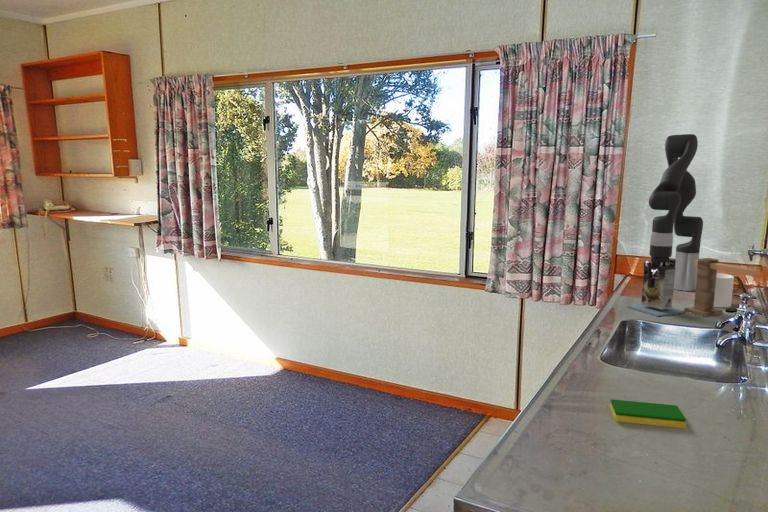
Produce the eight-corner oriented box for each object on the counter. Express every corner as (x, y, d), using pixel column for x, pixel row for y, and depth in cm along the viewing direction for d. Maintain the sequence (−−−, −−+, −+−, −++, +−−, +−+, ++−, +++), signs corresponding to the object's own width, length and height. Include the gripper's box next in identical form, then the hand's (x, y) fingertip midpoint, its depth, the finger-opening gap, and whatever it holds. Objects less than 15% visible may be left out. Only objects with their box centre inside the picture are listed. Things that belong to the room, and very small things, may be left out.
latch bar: (699, 265, 199) (700, 260, 199) (758, 275, 179) (758, 269, 178) (694, 265, 198) (694, 260, 198) (752, 276, 178) (753, 270, 177)
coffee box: (640, 304, 203) (643, 264, 200) (651, 302, 206) (654, 262, 203) (661, 310, 195) (664, 268, 192) (672, 308, 198) (676, 266, 195)
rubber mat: (654, 304, 209) (654, 302, 209) (685, 312, 197) (685, 311, 196) (627, 307, 205) (627, 306, 204) (657, 316, 192) (657, 315, 192)
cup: (721, 301, 214) (724, 272, 212) (737, 308, 203) (740, 278, 201) (691, 300, 215) (694, 272, 213) (705, 307, 204) (708, 278, 202)
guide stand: (702, 308, 203) (707, 256, 199) (722, 313, 195) (727, 260, 192) (684, 311, 199) (689, 258, 196) (703, 316, 192) (708, 261, 188)
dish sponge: (609, 408, 119) (610, 398, 119) (676, 415, 116) (676, 404, 115) (615, 422, 112) (615, 412, 112) (685, 430, 109) (686, 419, 108)
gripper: (655, 246, 190) (652, 290, 193) (683, 244, 195) (680, 287, 198) (638, 243, 197) (635, 286, 200) (666, 241, 202) (663, 283, 205)
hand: (657, 286), depth 199 cm, fingers closed on coffee box, 6 cm apart
